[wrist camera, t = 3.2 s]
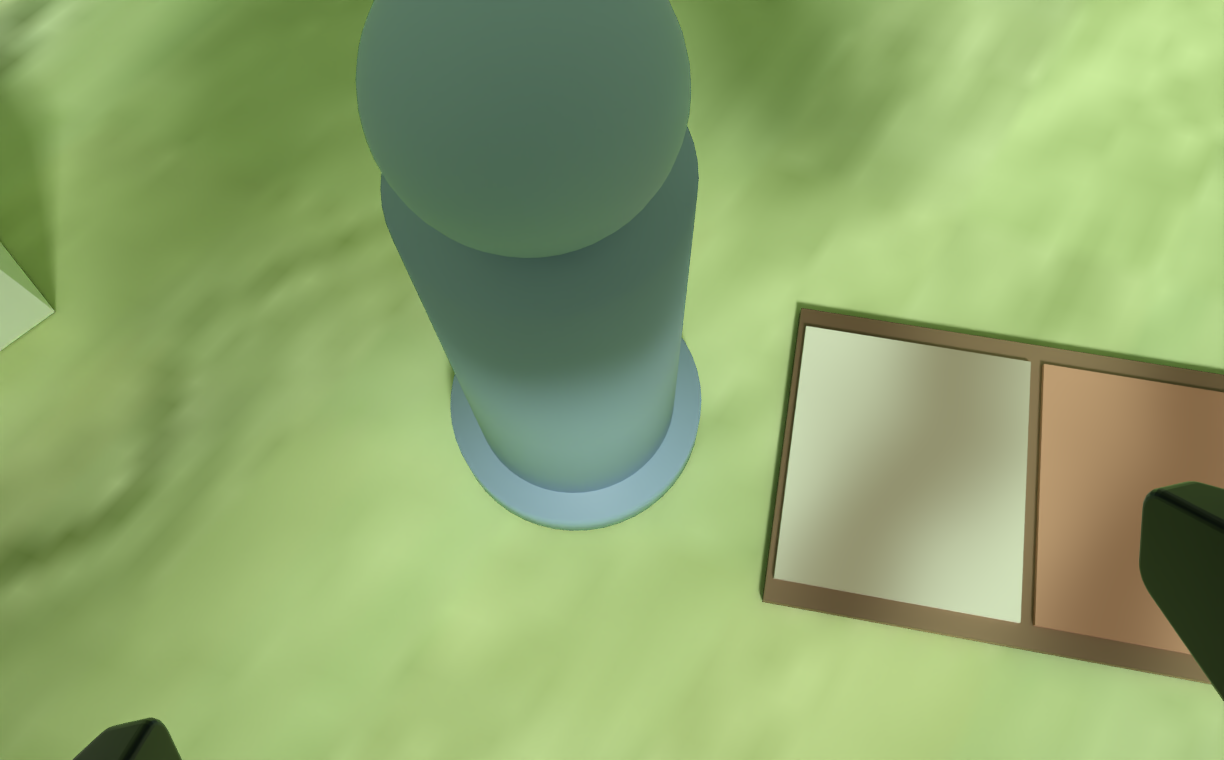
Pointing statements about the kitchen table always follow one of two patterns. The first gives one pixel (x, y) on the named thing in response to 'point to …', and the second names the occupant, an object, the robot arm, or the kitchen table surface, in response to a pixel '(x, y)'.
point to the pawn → (546, 236)
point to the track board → (984, 487)
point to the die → (18, 301)
